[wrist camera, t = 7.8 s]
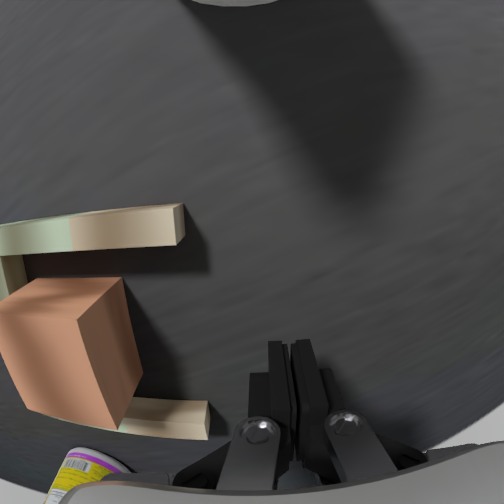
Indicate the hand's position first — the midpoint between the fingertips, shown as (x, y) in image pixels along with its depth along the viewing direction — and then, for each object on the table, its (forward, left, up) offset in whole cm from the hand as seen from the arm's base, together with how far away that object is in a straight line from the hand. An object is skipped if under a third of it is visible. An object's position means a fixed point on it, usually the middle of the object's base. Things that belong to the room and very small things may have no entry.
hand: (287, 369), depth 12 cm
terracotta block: (+11, 0, -4) cm, 12 cm away
